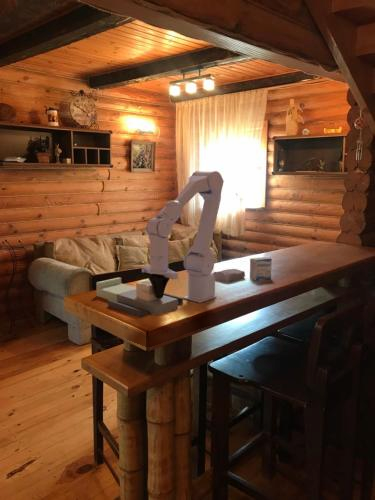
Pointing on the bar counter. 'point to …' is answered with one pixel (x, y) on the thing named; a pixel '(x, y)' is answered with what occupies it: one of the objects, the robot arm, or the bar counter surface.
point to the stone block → (229, 275)
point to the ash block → (145, 290)
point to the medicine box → (260, 268)
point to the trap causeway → (134, 299)
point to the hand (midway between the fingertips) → (159, 297)
